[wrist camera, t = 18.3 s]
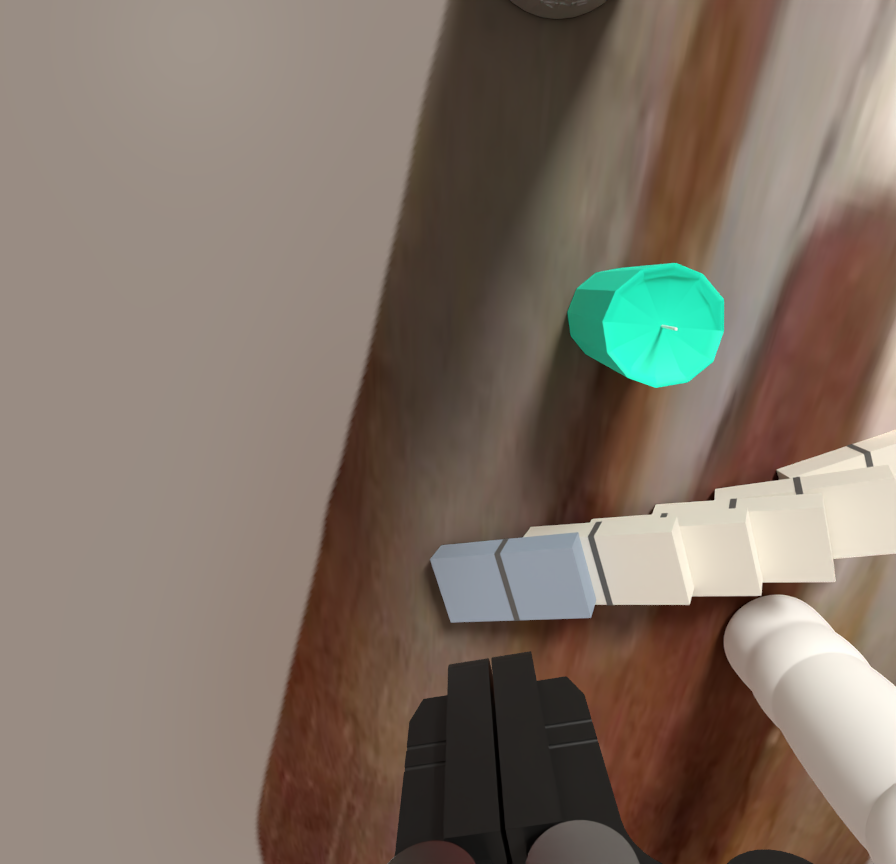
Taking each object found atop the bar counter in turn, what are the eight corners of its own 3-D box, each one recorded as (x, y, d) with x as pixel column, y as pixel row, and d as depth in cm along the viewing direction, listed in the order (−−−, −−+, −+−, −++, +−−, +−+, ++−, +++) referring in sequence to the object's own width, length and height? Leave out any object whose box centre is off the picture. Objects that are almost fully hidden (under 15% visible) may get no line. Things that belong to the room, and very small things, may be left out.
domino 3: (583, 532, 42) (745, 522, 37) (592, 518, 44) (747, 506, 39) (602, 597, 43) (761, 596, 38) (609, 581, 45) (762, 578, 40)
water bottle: (837, 631, 46) (1271, 1032, 21) (764, 693, 47) (1093, 1138, 23) (773, 571, 45) (1151, 921, 20) (699, 637, 46) (972, 1039, 22)
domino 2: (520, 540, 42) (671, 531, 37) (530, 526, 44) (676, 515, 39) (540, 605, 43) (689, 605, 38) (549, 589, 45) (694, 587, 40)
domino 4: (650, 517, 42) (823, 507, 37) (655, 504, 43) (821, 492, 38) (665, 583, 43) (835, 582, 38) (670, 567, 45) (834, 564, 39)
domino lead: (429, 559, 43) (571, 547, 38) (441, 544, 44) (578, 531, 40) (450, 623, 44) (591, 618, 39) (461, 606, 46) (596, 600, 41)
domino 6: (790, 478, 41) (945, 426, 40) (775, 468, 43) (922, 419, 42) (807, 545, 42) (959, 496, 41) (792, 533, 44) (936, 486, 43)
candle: (621, 379, 41) (685, 417, 30) (548, 327, 41) (584, 345, 29) (679, 303, 40) (769, 311, 29) (605, 248, 40) (666, 234, 28)
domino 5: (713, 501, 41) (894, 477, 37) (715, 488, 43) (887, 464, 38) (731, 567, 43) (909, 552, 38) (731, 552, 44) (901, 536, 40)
